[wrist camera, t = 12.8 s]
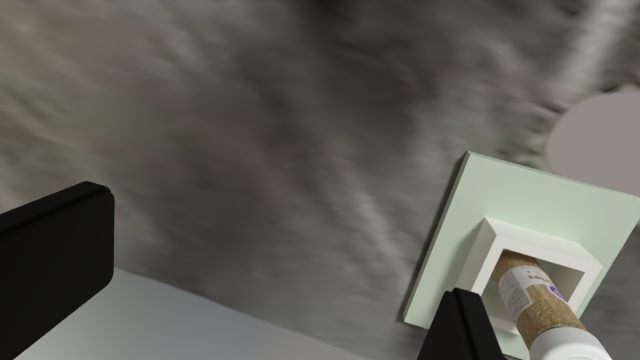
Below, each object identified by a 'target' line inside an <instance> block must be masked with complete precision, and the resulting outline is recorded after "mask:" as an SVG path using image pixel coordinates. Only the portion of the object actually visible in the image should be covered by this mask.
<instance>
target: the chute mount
mask: <svg viewBox="0 0 640 360" xmlns="http://www.w3.org/2000/svg"><path fill="white" fill-rule="evenodd" d="M639 218H640V198H639V197H636V196H633V195H629V194H625V193H622V192H618V191H614V190H611V189H607V188H603V187H600V186H596V185H592V184H588V183H585V182H581V181H577V180H574V179H570V178H566V177H563V176H559V175H555V174H551V173H548V172H544V171H540V170H537V169H533V168H529V167H525V166H522V165H518V164H514V163H511V162H507V161H503V160H500V159H496V158H492V157H488V156H485V155H481V154H477V153H474V152H470V151H467V152H466V155H465V157H464V160H463V162H462V165H461V167H460V170H459V172H458V175H457V177H456V180H455V183H454V185H453V188H452V190H451V193H450V195H449V198H448V200H447V203H446V206H445V208H444V211H443V213H442V216H441V218H440V221H439V223H438V226H437V228H436V231H435V234H434V236H433V239H432V241H431V244H430V246H429V249H428V251H427V254H426V256H425V259H424V262H423V264H422V267H421V269H420V272H419V274H418V277H417V279H416V282H415V285H414V287H413V290H412V292H411V295H410V297H409V300H408V302H407V305H406V307H405V310H404V313H403V315H404V322H407V323H410V324H413V325H416V326H420V327H423V328H426V329H429V328H430V326H431V323H432V321H433V318H434V316H435V313H436V311H437V309H438V306H439V304H440V301H441V299H442V296H443V294H444V292H445V291H451V292H452V290H453V289H454V288H455V287H457V288H461V289H464V290H468V291H471V292H475V293H478V294H479V295H480V297H481V299H482V302H483V304H484V307H485V309H486V312H487V314H488V317H489V320H490V322H491V325H492V327H493V330H494V333H495V335H496V338H497V340H498V343H499V345H500V348H501V351H502V353H504V354H507V355H510V356H513V357H516V358H520V359H523V360H530V355H529V350H528V349H527V347H526V345H525V343H524V341H523V338H522V336H521V335H520V334H519V332H518V330H517V328H516V326H515V324H514V322H513V320H512V318H511V316H510V314H509V312H508V309H507V307H506V305H505V303H504V301H503V299H502V297H501V295H500V292H499V289H498V286H497V284H496V282H494V280H493V279H492V277H491V274H492V272H493V269H494V267H495V265H496V263H497V261H498V259H499V257H500V255H501V253H502V251H504V250H507V249H508V250H512V251H515V252H518V253H522V254H525V255H529V256H532V257H535V258H536V260H537V261H538V264H539V266H540V267H541V269H542V270H543V271H544V273H545V274H546V275H547V276H548V277H549V278H550V280H551V281H552V283H553V284H554V286H555V287H556V288H557V290H558V291H559V293H560V294H561V295H562V297H563V298H564V299H565V301H566V302H567V303H568V305H569V306H570V308H571V310H572V311H573V313H574V314H575V316H576V317H577V318H578V319H579V317H580V316H581V314H582V313H583V311H584V309H585V308H586V306H587V304H588V303H589V301H590V299H591V298H592V296H593V294H594V293H595V291H596V289H597V288H598V286H599V284H600V283H601V281H602V280H603V278H604V276H605V275H606V273H607V271H608V270H609V268H610V266H611V265H612V263H613V261H614V260H615V258H616V256H617V255H618V253H619V251H620V250H621V248H622V247H623V245H624V243H625V242H626V240H627V238H628V237H629V235H630V233H631V232H632V230H633V228H634V227H635V225H636V223H637V222H638V220H639Z"/></svg>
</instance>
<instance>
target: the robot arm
mask: <svg viewBox="0 0 640 360" xmlns="http://www.w3.org/2000/svg"><path fill="white" fill-rule="evenodd" d="M114 204H115V199H114V196H113V194H112V193H111V191H110V189H109V188H108V187H106V186H103V185H99V184H96V183H92V182H88V181H85V182H82V183H79V184H76V185H74V186H71V187H69V188H66V189H64V190H61V191H59V192H56V193H53V194H51V195H48V196H46V197H43V198H41V199H38V200H35V201H33V202H30V203H28V204H25V205H23V206H20V207H18V208H15V209H12V210H10V211H7V212H5V213H2V214H0V360H13V359H15V358H16V357H17V356H18V355H20V354H21V353H22V352H23V351H24V350H26V349H27V348H29V347H30V346H31V345H32V344H34V343H35V342H36V341H37V340H39V339H40V338H41V337H42V336H44V335H45V334H46V333H47V332H49V331H50V330H51V329H52V328H54V327H55V326H56V325H58V324H59V323H60V322H61V321H63V320H64V319H65V318H67V317H68V316H69V315H70V314H71V313H73V312H74V311H75V310H77V309H78V308H79V307H80V306H82V305H83V304H84V303H85V302H87V301H88V300H89V299H90V298H92V297H93V296H94V295H95V294H97V293H98V292H99V291H101V290H102V289H103V288H104V287H106V286H107V285H108V284H109V282H110V281H111V279H112V276H113V272H114ZM417 360H508V359H506V358H505V357H504V356H503V353H502V351H501V348H500V345H499V343H498V340H497V338H496V335H495V333H494V330H493V327H492V325H491V322H490V320H489V317H488V314H487V312H486V309H485V307H484V304H483V302H482V299H481V297H480V295H479V294H478V293H475V292H471V291H468V290H464V289H461V288H457V287H455V288H454V289H453V290H452V292H451V291H445V292H444V294H443V296H442V299H441V301H440V304H439V306H438V309H437V311H436V313H435V316H434V318H433V321H432V323H431V326H430V328H429V331H428V333H427V336H426V338H425V341H424V343H423V346H422V348H421V351H420V353H419V356H418V358H417Z"/></svg>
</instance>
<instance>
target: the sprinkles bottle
mask: <svg viewBox="0 0 640 360" xmlns="http://www.w3.org/2000/svg"><path fill="white" fill-rule="evenodd" d="M491 277H492V279H493V280H494V282H496V284H497V286H498V289H499V292H500V295H501V297H502V299H503V301H504V303H505V305H506V307H507V309H508V312H509V314H510V316H511V318H512V320H513V322H514V324H515V326H516V328H517V330H518V332H519V334H520V335H521V336H522V338H523V341H524V343H525V345H526V347H527V349H528V350H529V355H530V360H612V359H611V358H610V356H609V355H608V353H607V352H606V350H605V349H604V348H603V346H602V345H601V344H600V342H599V341H598V340H597V339H596V338H595V337H594V336H593V335H591V334H590V333H588V332H587V330H586V329H585V328H584V326H583V325H582V324H581V322H580V321H579V319H578V318H577V317H576V316H575V314H574V313H573V311H572V310H571V308H570V306H569V305H568V303H567V302H566V301H565V299H564V298H563V297H562V295H561V294H560V293H559V291H558V290H557V288H556V287H555V286H554V284H553V283H552V281H551V280H550V278H549V277H548V276H547V275H546V274H545V273H544V271H543V270H542V269H541V267H540V266H539V264H538V261H537V260H536V258H535V257H532V256H529V255H525V254H522V253H518V252H515V251H512V250H508V249H507V250H504V251H502V253H501V255H500V257H499V259H498V261H497V263H496V265H495V267H494V269H493V272H492V274H491Z"/></svg>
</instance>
